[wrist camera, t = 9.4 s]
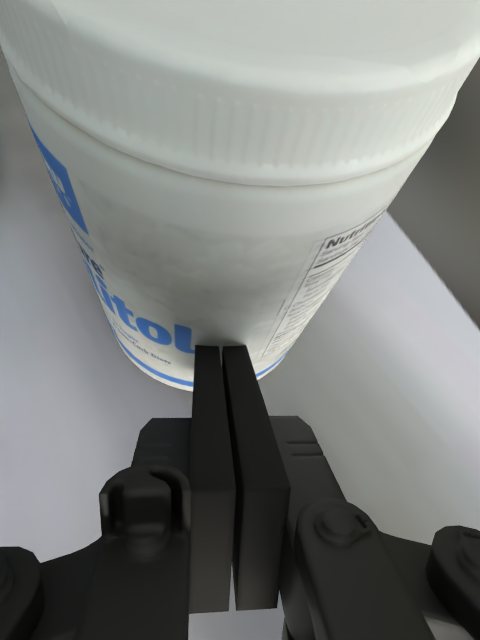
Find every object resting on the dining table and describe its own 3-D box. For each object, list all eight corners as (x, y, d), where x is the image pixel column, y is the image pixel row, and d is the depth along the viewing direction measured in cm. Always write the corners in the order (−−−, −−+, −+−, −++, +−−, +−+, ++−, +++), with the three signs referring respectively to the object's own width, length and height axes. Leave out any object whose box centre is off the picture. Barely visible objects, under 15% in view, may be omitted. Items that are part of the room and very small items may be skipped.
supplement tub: (71, 329, 18) (-230, -129, 5) (184, 211, 22) (179, -205, 9) (239, 440, 17) (417, 200, 4) (327, 292, 21) (555, -63, 8)
